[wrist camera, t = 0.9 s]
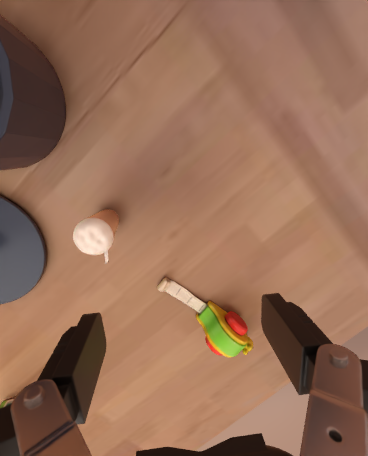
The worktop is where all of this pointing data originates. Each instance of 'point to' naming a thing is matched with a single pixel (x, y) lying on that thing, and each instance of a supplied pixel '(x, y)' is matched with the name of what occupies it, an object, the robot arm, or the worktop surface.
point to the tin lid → (19, 252)
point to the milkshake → (96, 233)
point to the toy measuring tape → (214, 322)
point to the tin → (27, 101)
